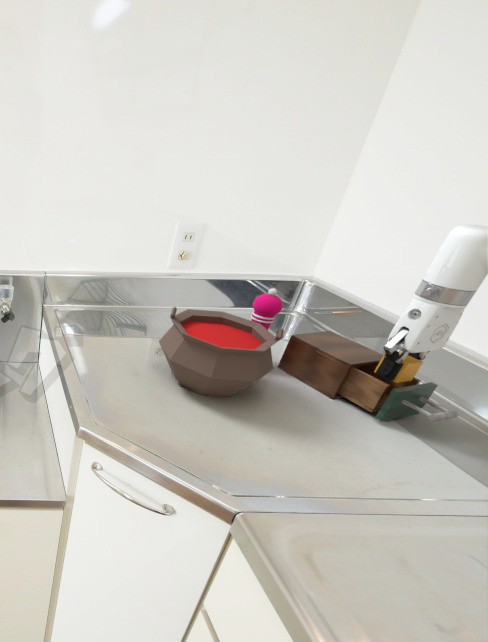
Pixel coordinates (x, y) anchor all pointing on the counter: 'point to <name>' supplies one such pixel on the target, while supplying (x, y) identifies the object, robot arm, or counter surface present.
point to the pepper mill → (266, 308)
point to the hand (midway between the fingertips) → (393, 374)
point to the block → (406, 369)
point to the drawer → (390, 395)
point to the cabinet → (325, 360)
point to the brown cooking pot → (217, 351)
